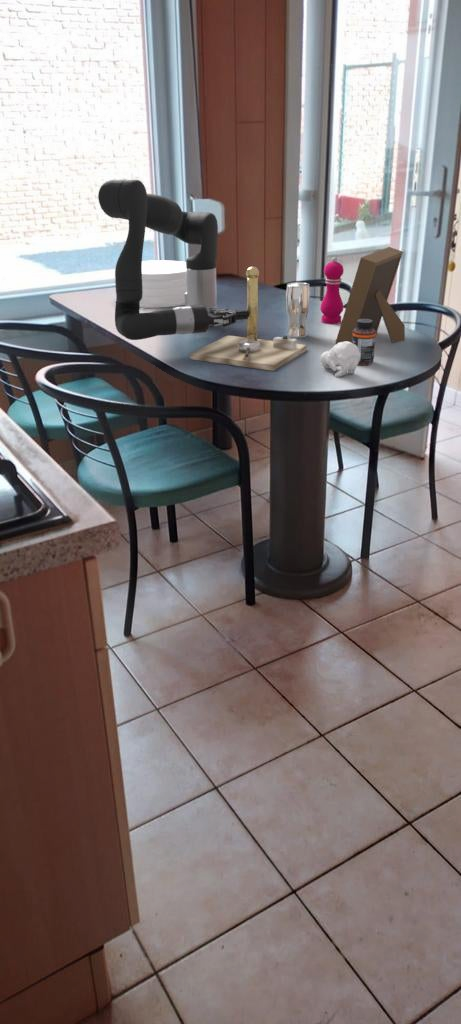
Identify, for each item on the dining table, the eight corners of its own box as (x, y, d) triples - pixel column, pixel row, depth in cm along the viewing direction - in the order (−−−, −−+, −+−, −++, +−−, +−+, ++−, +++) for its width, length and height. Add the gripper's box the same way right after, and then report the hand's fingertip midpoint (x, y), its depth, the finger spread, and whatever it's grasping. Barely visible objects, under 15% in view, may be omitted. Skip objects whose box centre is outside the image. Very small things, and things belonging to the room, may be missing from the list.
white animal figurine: (343, 345, 189) (313, 339, 199) (343, 379, 193) (313, 372, 202) (363, 341, 192) (332, 335, 202) (362, 375, 196) (332, 368, 205)
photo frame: (335, 347, 221) (341, 255, 209) (363, 330, 237) (370, 245, 226) (384, 354, 214) (393, 260, 202) (410, 337, 231) (420, 249, 219)
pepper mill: (341, 324, 244) (345, 258, 235) (318, 323, 246) (321, 258, 236) (343, 319, 251) (347, 255, 241) (321, 318, 252) (323, 254, 243)
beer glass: (310, 333, 235) (312, 282, 228) (305, 339, 229) (306, 287, 222) (288, 332, 237) (289, 281, 230) (282, 337, 231) (283, 285, 224)
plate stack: (211, 296, 285) (211, 264, 280) (166, 311, 264) (164, 276, 259) (151, 289, 299) (149, 258, 294) (103, 302, 278) (100, 269, 272)
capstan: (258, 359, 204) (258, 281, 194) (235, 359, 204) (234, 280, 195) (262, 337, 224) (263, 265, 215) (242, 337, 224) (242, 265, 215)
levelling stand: (190, 359, 211) (189, 341, 209) (227, 340, 228) (227, 324, 226) (273, 370, 201) (274, 352, 198) (306, 350, 218) (307, 333, 216)
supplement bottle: (349, 359, 209) (352, 317, 204) (371, 359, 209) (375, 317, 204) (352, 366, 204) (354, 322, 199) (374, 366, 204) (378, 322, 199)
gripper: (196, 311, 206) (256, 305, 212) (181, 301, 217) (238, 296, 223) (196, 339, 210) (256, 333, 215) (181, 327, 221) (238, 322, 226)
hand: (247, 314), depth 219 cm, fingers closed
